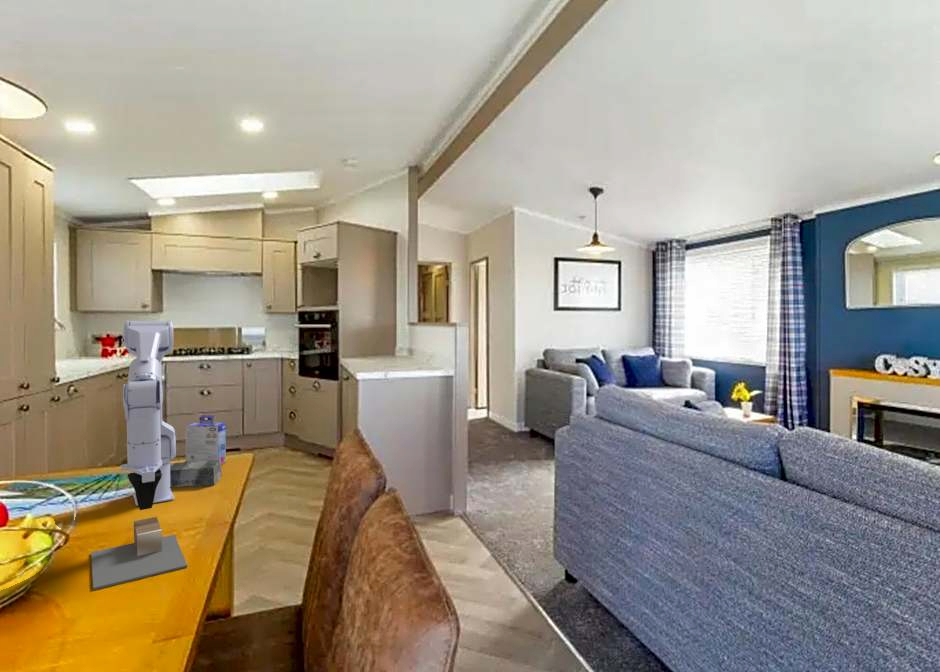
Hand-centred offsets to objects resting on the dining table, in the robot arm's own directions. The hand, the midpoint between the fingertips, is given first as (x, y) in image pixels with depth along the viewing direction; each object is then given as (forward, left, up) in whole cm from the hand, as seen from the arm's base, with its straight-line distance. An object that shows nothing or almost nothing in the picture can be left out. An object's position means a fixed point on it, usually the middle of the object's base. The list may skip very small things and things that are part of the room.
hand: (145, 508), depth 107 cm
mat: (+8, -2, -7) cm, 11 cm away
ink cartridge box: (-51, +20, -7) cm, 55 cm away
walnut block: (-1, 0, -4) cm, 5 cm away
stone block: (-36, +14, -8) cm, 39 cm away
